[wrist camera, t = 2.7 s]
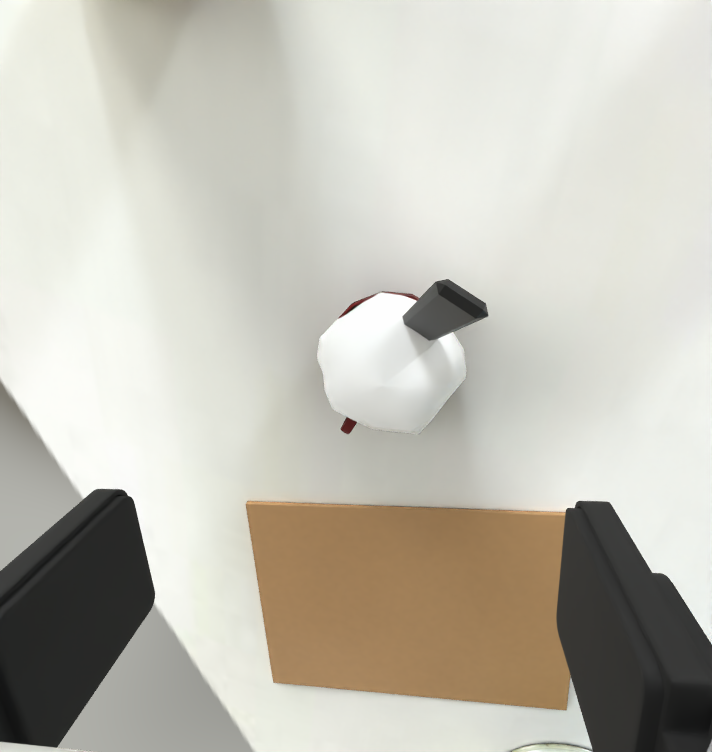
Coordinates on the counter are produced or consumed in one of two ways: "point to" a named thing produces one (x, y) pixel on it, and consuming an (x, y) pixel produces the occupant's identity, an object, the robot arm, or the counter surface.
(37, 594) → the robot arm
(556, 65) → the counter surface
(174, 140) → the counter surface
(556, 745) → the coffee can
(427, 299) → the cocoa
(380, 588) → the brown rectangular board
